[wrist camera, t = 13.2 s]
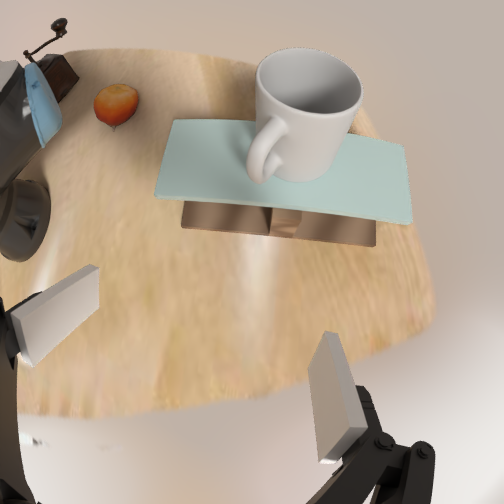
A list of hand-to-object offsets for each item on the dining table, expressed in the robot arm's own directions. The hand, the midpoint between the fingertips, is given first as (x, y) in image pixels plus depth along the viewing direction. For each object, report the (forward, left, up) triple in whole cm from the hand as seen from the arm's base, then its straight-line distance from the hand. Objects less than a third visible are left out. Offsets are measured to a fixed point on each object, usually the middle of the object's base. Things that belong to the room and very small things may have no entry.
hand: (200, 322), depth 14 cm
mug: (-11, +13, -11) cm, 20 cm away
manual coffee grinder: (-64, -15, -20) cm, 68 cm away
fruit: (-39, -3, -20) cm, 44 cm away
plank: (-11, +13, -12) cm, 21 cm away
